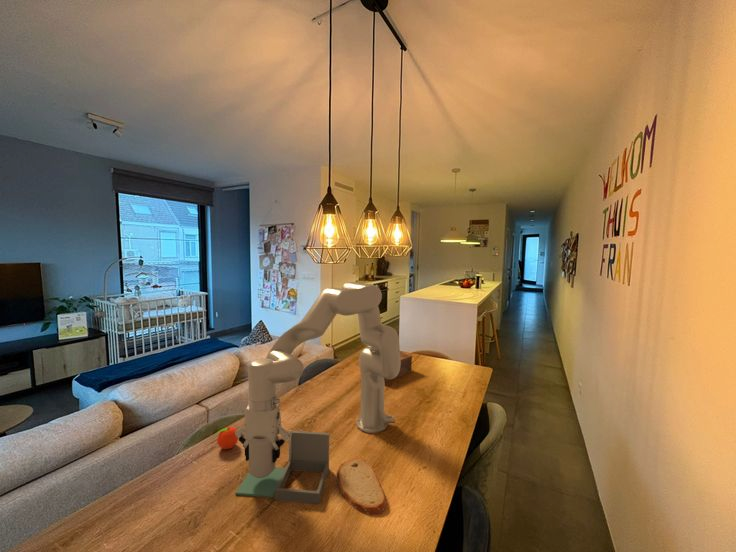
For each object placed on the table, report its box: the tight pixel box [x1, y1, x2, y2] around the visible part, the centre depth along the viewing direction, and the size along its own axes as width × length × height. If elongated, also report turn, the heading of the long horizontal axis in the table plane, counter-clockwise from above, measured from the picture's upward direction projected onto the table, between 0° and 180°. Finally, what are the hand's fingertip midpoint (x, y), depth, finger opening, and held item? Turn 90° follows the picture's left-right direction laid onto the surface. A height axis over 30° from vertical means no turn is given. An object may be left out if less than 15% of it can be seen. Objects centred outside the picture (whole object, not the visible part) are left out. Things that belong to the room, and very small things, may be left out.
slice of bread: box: [336, 457, 388, 516], centre depth 90 cm, size 18×18×4 cm
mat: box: [235, 466, 286, 499], centre depth 91 cm, size 11×11×1 cm
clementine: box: [213, 426, 239, 450], centre depth 106 cm, size 8×7×7 cm
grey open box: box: [274, 429, 330, 505], centre depth 90 cm, size 13×14×13 cm
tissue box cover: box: [384, 351, 413, 383], centre depth 174 cm, size 26×14×10 cm, turn 133°
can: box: [248, 437, 276, 478], centre depth 90 cm, size 8×8×12 cm
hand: (262, 458), depth 91 cm, fingers closed on can, 7 cm apart
